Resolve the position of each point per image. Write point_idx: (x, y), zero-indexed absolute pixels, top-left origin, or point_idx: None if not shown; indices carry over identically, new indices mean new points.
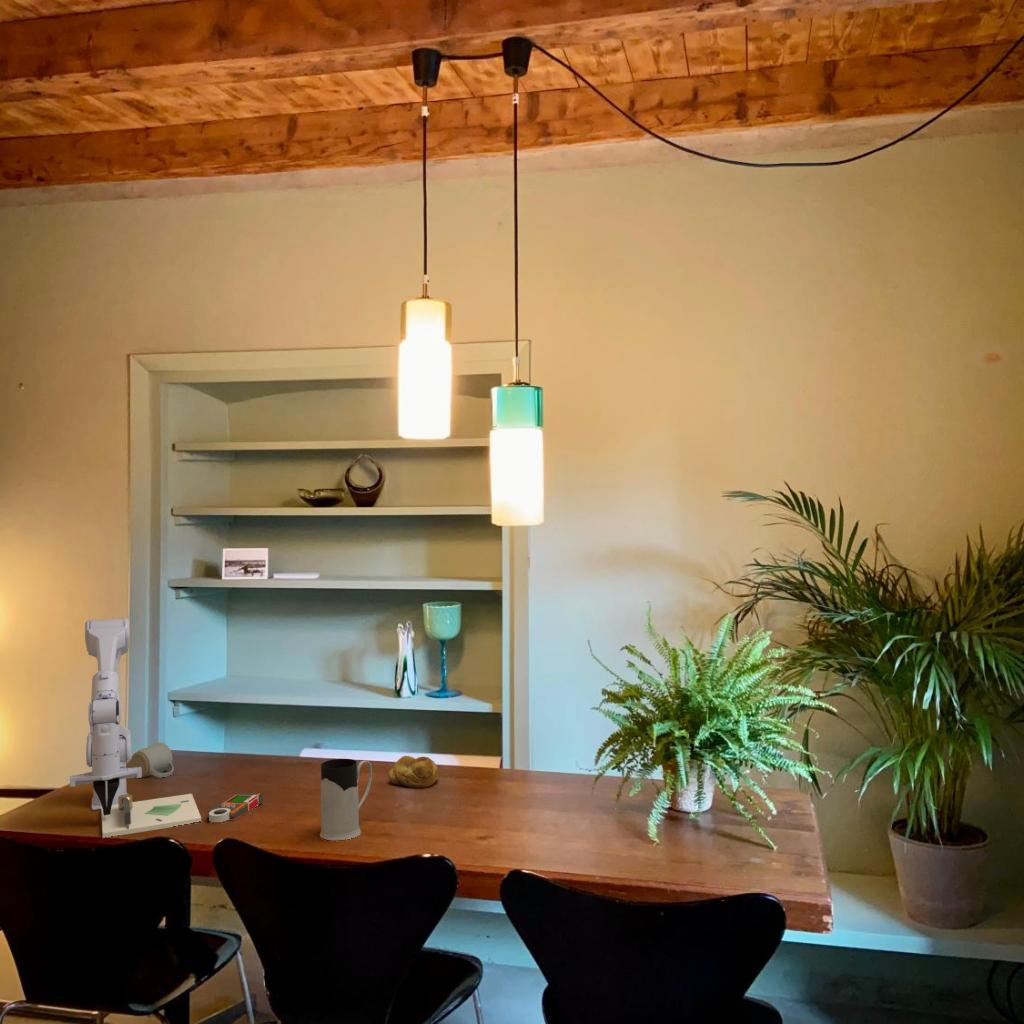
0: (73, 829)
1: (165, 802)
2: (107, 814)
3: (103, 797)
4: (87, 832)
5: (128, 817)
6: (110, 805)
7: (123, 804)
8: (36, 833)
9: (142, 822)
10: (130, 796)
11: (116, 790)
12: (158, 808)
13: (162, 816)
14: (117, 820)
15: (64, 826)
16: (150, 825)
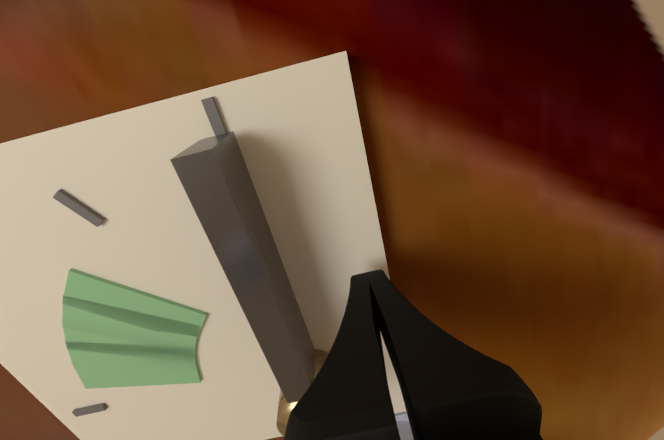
0: (499, 232)
1: (174, 412)
2: (364, 273)
3: (407, 333)
4: (436, 175)
5: (198, 146)
6: (352, 302)
7: (283, 322)
8: (647, 218)
9: (165, 194)
10: (282, 418)
11: (311, 385)
12: (165, 355)
13: (96, 263)
14: (313, 254)
15: (534, 275)
16: (86, 127)
